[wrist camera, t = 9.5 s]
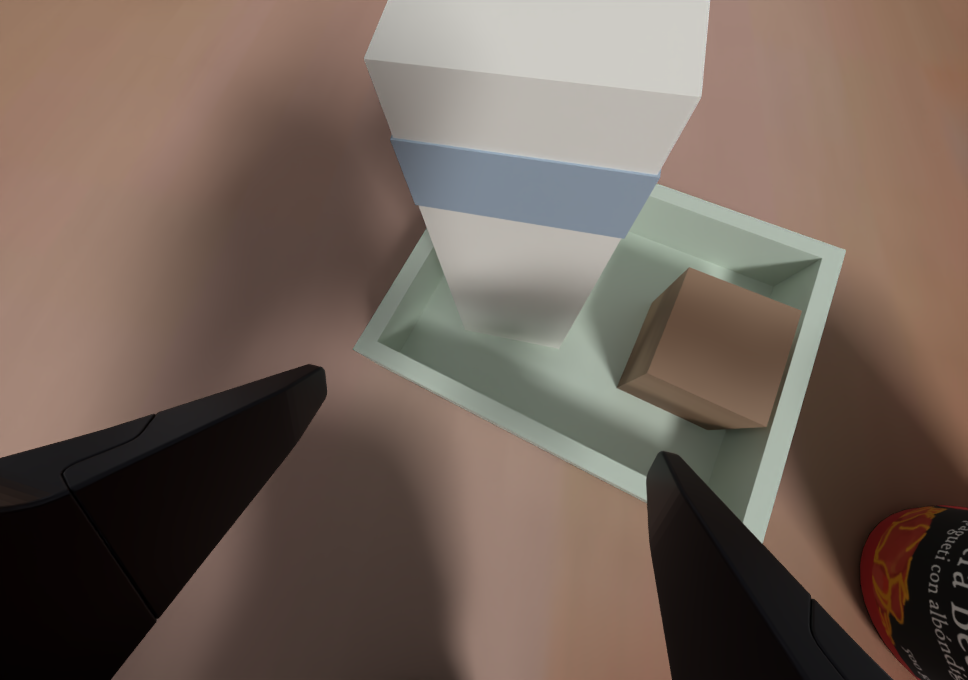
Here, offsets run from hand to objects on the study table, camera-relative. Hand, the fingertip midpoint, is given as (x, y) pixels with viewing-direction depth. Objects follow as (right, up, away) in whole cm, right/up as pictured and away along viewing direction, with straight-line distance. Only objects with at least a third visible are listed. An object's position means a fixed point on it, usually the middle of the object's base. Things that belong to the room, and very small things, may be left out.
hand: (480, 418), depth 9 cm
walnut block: (+10, +1, +8) cm, 13 cm away
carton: (+2, +4, +10) cm, 11 cm away
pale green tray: (+5, +3, +10) cm, 12 cm away
